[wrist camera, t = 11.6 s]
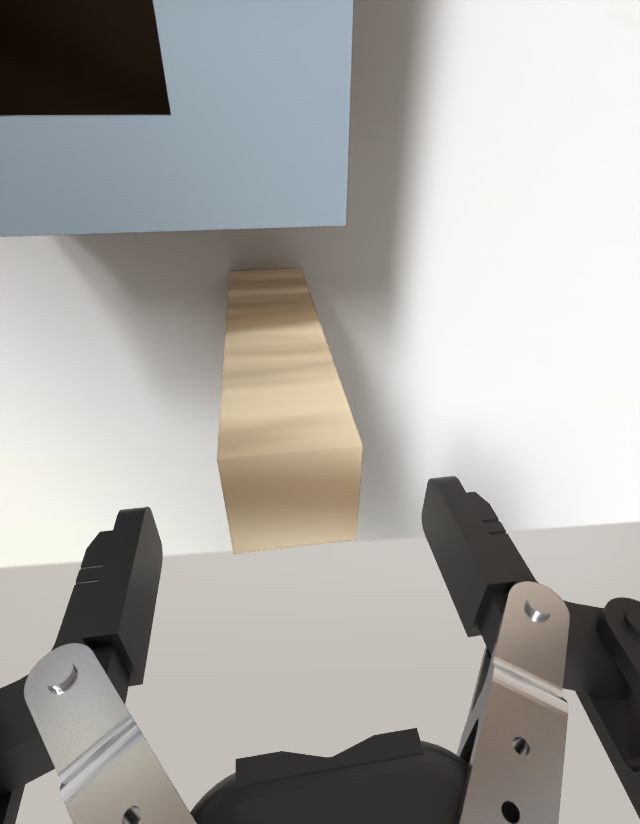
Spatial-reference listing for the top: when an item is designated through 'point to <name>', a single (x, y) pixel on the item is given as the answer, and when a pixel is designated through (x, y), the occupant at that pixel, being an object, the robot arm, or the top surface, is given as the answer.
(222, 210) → the lid
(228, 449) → the beech key
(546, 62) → the top surface
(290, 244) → the top surface
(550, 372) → the top surface
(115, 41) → the wooden box
